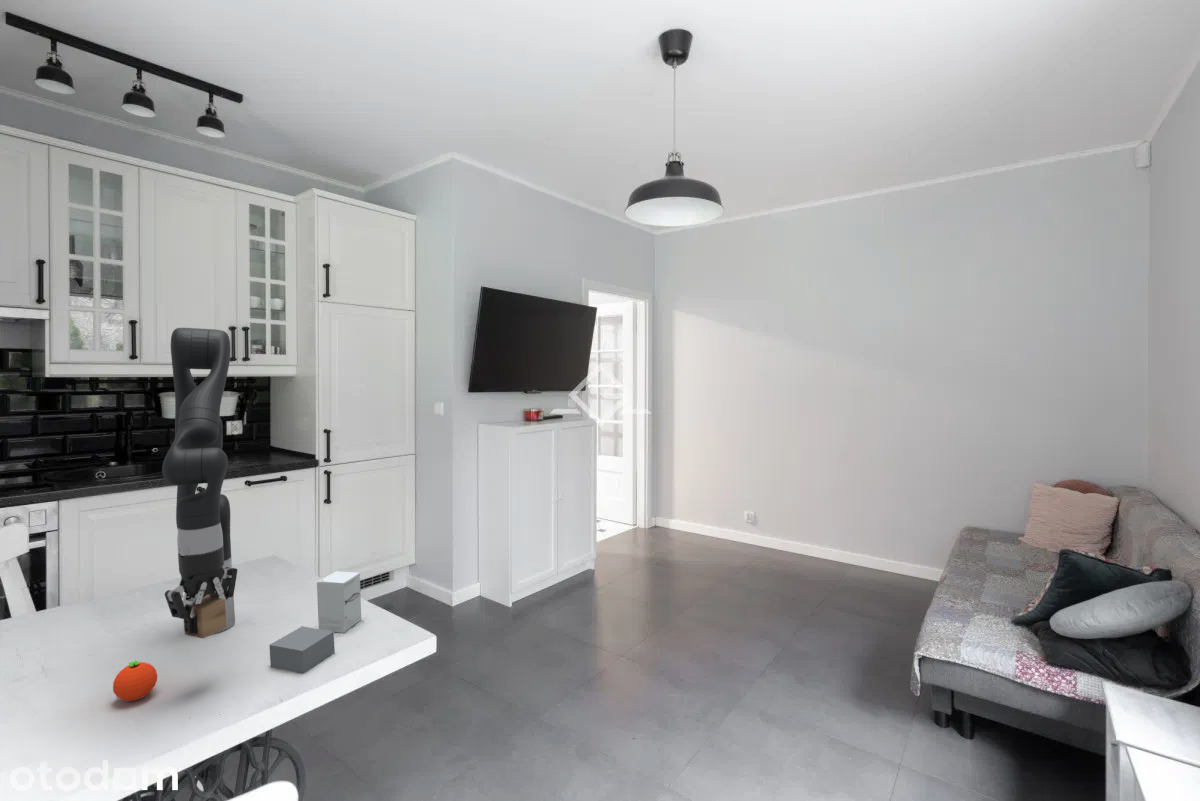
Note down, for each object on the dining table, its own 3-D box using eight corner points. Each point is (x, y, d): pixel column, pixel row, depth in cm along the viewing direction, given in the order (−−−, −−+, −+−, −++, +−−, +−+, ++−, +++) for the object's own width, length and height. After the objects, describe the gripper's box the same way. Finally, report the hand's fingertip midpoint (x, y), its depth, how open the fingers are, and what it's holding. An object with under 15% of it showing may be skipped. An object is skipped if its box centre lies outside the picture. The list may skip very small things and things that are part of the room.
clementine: (110, 696, 115) (107, 662, 115) (153, 682, 121) (150, 649, 120) (117, 713, 110) (114, 677, 110) (162, 697, 115) (160, 662, 115)
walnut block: (184, 634, 116) (183, 605, 116) (208, 623, 121) (206, 595, 120) (203, 638, 115) (201, 609, 114) (226, 626, 120) (224, 598, 119)
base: (270, 666, 126) (269, 644, 126) (303, 647, 135) (302, 626, 134) (303, 673, 123) (302, 650, 123) (334, 652, 132) (333, 631, 132)
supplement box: (344, 633, 141) (342, 583, 140) (317, 630, 143) (315, 581, 142) (362, 620, 148) (360, 572, 147) (337, 617, 150) (334, 570, 149)
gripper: (219, 533, 124) (224, 609, 126) (150, 556, 111) (155, 641, 112) (246, 537, 122) (250, 614, 124) (179, 561, 108) (184, 648, 110)
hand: (205, 627), depth 118 cm, fingers closed on walnut block, 5 cm apart
